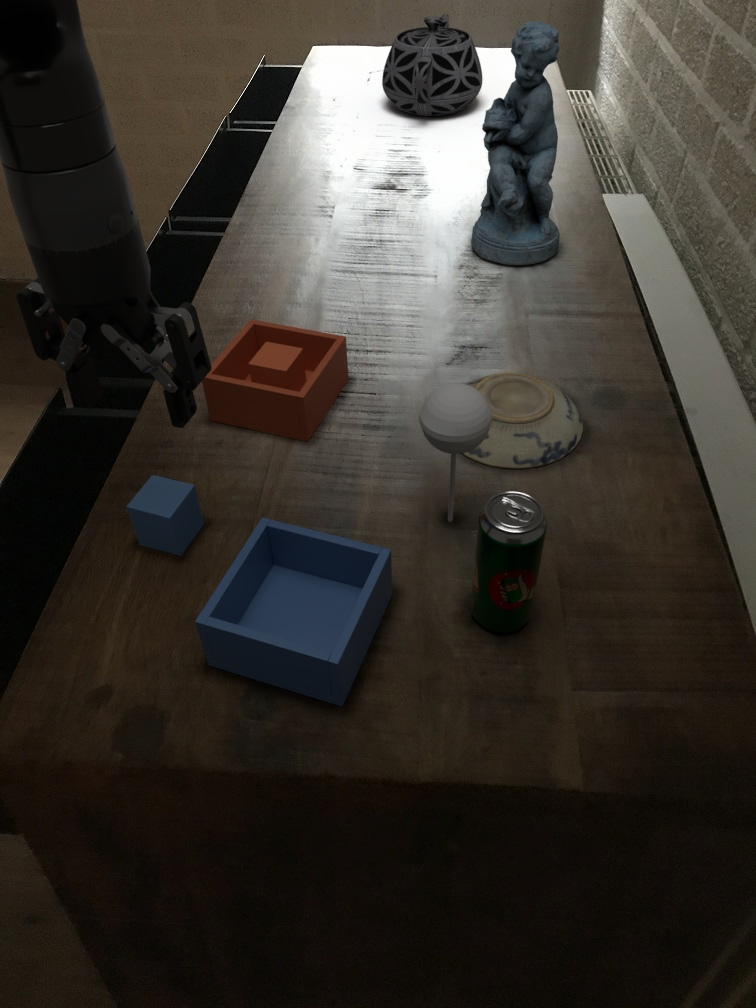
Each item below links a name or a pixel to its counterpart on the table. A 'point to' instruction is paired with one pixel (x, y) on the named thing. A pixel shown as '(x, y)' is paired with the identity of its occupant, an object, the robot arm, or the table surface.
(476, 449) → the decorative bowl
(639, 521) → the table surface
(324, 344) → the terracotta bin
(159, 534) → the blue block
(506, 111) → the statue
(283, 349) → the terracotta block
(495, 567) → the soda can
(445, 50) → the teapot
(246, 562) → the blue bin
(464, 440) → the lollipop
